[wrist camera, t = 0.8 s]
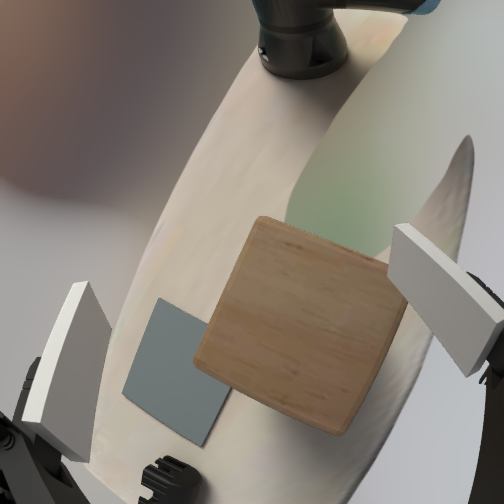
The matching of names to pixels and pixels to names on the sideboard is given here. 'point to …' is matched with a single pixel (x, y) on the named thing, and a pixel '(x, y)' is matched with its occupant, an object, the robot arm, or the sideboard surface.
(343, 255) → the wooden block
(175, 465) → the black rounded block
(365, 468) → the sideboard surface
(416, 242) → the robot arm
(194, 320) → the mat
